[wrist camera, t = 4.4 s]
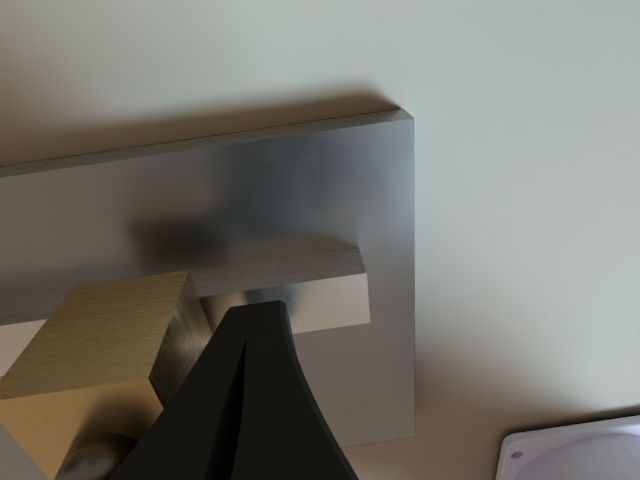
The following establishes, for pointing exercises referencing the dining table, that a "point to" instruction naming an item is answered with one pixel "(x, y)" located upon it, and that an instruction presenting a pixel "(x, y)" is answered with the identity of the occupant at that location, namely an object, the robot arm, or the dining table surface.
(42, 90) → the dining table surface
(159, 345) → the sliding leg
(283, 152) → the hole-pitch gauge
